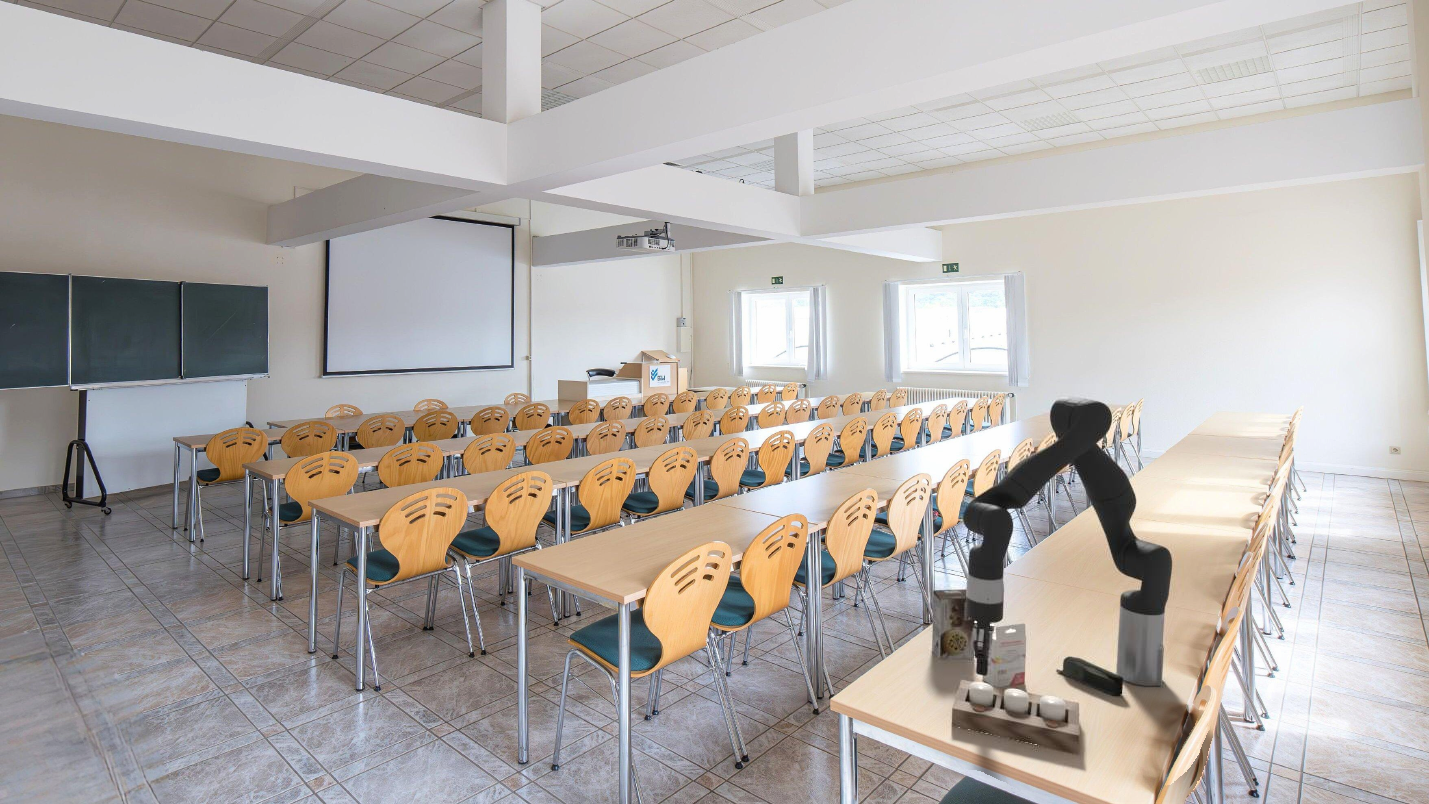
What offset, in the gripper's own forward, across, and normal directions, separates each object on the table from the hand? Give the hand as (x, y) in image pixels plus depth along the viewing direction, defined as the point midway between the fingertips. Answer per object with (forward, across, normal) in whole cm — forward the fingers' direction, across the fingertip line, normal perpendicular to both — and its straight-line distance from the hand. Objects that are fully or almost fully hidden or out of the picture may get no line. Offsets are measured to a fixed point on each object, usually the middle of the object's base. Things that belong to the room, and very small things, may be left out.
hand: (981, 673), depth 158 cm
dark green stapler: (+10, +27, -21) cm, 36 cm away
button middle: (+7, 0, -7) cm, 10 cm away
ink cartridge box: (+10, +19, -3) cm, 22 cm away
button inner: (+7, 0, -14) cm, 16 cm away
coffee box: (+10, +29, +10) cm, 32 cm away
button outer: (+7, 0, 0) cm, 7 cm away
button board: (+10, 0, -7) cm, 12 cm away
